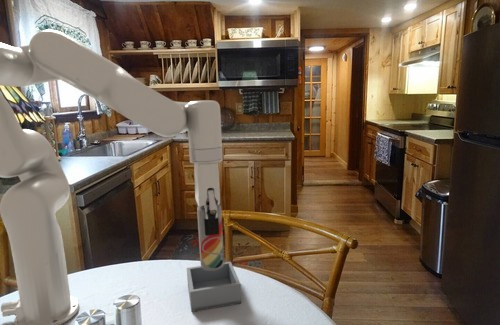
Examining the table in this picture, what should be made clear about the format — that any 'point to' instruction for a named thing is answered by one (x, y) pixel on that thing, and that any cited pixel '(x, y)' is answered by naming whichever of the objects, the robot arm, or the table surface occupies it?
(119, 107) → the robot arm
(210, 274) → the box
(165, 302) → the table surface
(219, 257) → the lotion bottle
